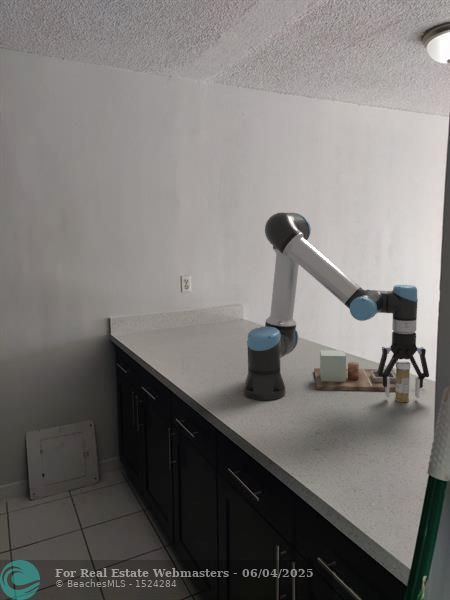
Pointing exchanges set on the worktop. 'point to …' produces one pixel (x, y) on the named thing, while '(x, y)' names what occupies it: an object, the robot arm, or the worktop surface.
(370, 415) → the worktop surface
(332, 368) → the cover
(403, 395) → the sprinkles bottle
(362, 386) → the board
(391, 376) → the socket
